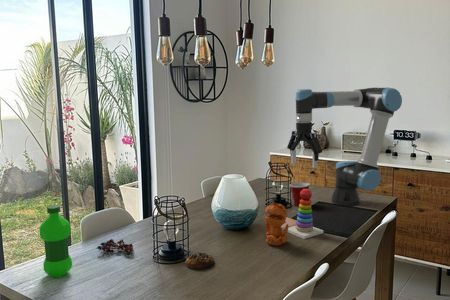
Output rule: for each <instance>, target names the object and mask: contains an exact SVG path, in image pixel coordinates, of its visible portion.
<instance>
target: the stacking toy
mask: <svg viewBox="0 0 450 300" xmlns="http://www.w3.org/2000/svg"><path fill="white" fill-rule="evenodd" d="M312 195H313V193H312V191H311V190H310V189H309V188H308V189H303V190H302V191H301V192H300V196H301V198H302V199H301V200H300V204H299V207H298V209H297V210H298V211H297V217H296V226H295V228H296V229H297V230H298V231H301V232H310V231H312V230H313V227H314V222H313V220H314V219H313V213H312V212H313V210H312V200H311V198H312Z"/></svg>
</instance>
